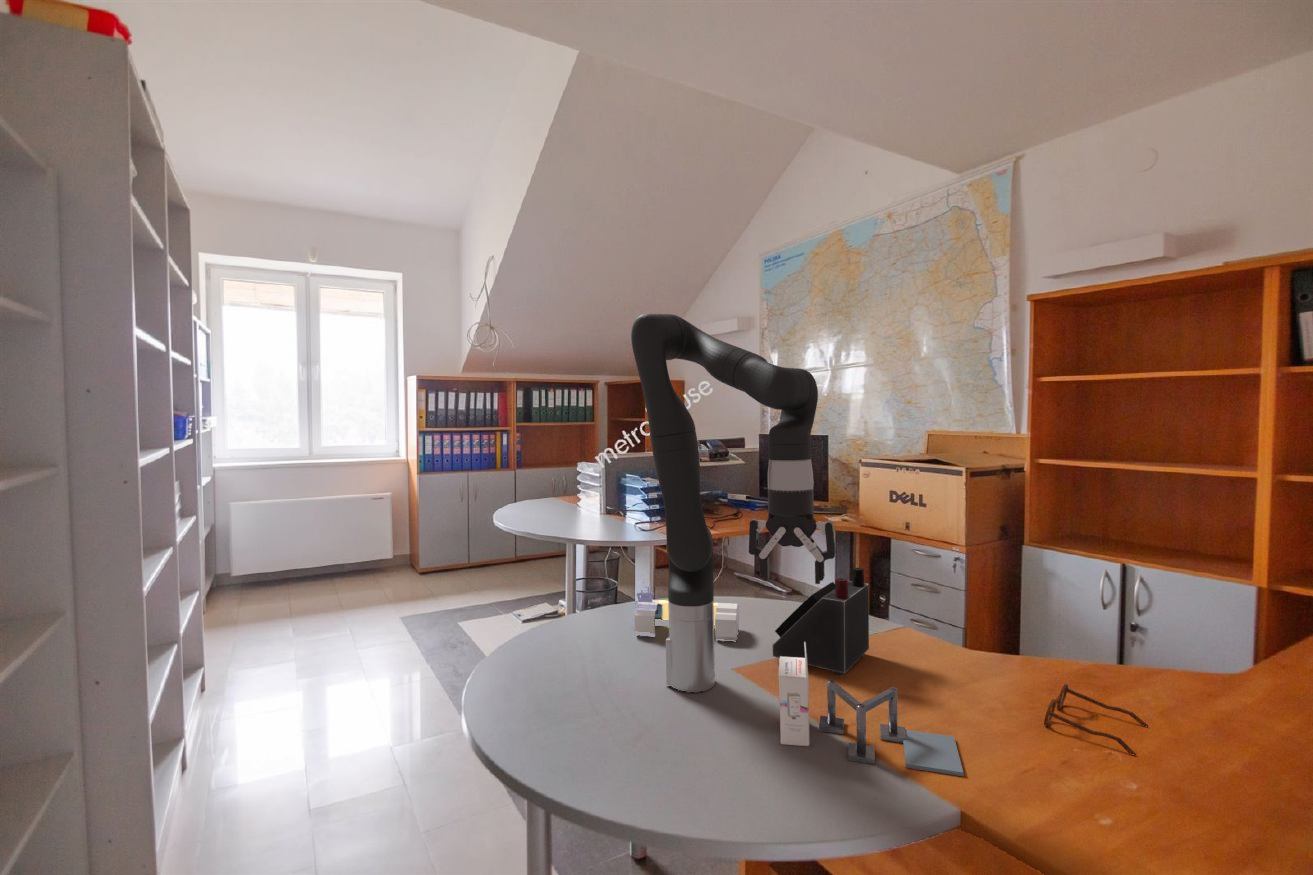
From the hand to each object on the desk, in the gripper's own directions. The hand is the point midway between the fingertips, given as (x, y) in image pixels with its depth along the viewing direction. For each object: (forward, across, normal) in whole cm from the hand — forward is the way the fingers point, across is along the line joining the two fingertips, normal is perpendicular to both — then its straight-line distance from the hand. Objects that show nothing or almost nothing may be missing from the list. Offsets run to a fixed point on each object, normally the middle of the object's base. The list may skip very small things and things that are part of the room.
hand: (792, 581), depth 105 cm
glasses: (+27, +49, +17) cm, 59 cm away
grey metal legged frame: (+26, +11, 0) cm, 28 cm away
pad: (+26, +21, 0) cm, 34 cm away
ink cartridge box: (+26, 0, 0) cm, 27 cm away
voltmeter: (+27, +2, +35) cm, 44 cm away
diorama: (+26, -32, +42) cm, 59 cm away
